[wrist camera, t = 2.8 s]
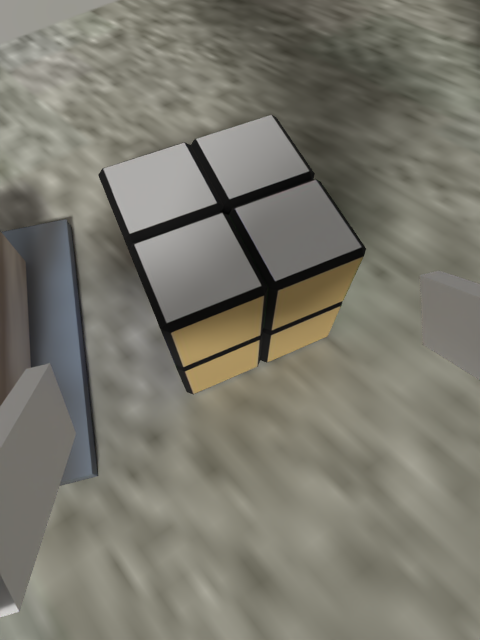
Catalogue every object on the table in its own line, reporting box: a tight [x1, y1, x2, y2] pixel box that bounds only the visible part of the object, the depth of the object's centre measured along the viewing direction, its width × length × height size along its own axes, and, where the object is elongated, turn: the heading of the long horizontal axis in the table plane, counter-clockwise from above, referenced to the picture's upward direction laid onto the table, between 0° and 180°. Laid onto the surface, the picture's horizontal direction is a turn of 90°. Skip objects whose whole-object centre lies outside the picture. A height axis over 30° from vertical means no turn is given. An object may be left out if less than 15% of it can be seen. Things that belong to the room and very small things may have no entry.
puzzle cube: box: [99, 115, 366, 394], centre depth 25 cm, size 10×10×10 cm
